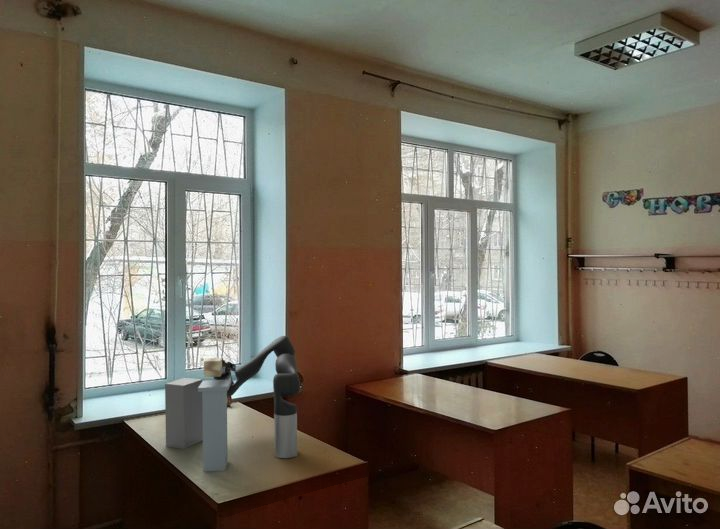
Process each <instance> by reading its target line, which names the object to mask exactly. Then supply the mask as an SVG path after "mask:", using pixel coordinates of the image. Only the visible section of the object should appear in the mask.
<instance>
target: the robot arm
mask: <svg viewBox="0 0 720 529" xmlns="http://www.w3.org/2000/svg"><path fill="white" fill-rule="evenodd" d="M272 352H273V353H274V355H275V356H276V360H275V363H274V364H275V371H276V373H275V374H274V376H273V380H272V384H273V386H272V388H273V402H274V403H273V406H274V407H273V412H274V413H273V419H274V420H273V423H274V424H273V426H274V429H273V430H274V432H273V433H274V435H273V436H274V438H273V440H274V448H273V449H274V456H275V457H276V458H279V459H291V458H294V457H298V415H297V414H298V407H297V404H295V403H293V402H289V401H287V400H285V399H283V398H284V397H295V396H298V394H299V393H300V391H301V380H300V377H299V374H298V370H297V368H298V367H297V363H296V358H295V356H296V351H295V348H294V346H293V344H292V342H291V340H290V338H289V337H288V336H287V335H281V336H279V337H277V338H276V339H274V340H273V341H272V342H271V343H269V344H268V345H267V346H265V347H264V348H263V349H261V351H260V352H258V353H257V354H256V355H255V356H254V357H253V358H252V359H250V360H249V361H247V362H246V363H245V364H243V365H241V366H240V367H238V368H237V365H236V364H234V363H232V362H230V361H227V362H226V360H224V358H223V359H222V374H221V376H220V377H212V378H213V379H214V380H231V385H230V387H229V389H228V391H227V397H230V396H231V397H232V396H233V395H234V394H235V393H236V392H237V391H238V390H239V389H240V387H241V386H242V385H244V383H246V382H247V381H249V380H250V379H251V378H252V377H254V376H256V375H257V374H258V372H260V370H261V368H262V366H263V365H264V363H265V361H266V359H267V357H268V356H269V355H270V354H271V353H272ZM232 372H234V375H235V378H236V381H235V382H234V381H233V376H232Z"/></svg>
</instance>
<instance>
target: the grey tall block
mask: <svg viewBox="0 0 720 529" xmlns="http://www.w3.org/2000/svg"><path fill="white" fill-rule="evenodd" d="M202 381H203V379H201V378H192V377H181V378H178V379H175V380H173V381H170V382H167V383H165V384H164V390H165V391H164V396H165V398H164V400H165V402H164V403H165V404H164V405H165V408H164V409H165V447H169V448H176V449H181V450H185V449H187V448H189V447H192V446H193V445H196V444H198V443H200V442H201V441H202V442H203V406H202V392H198V387H199V386H200V384H201V383H202Z"/></svg>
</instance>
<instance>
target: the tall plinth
mask: <svg viewBox="0 0 720 529" xmlns="http://www.w3.org/2000/svg"><path fill="white" fill-rule="evenodd" d="M230 385H231V380H213V379H210V380H205V379H204V380H202V383H201V384H200V386H199V387H198V392H202V406H203V440H202V460H203V461H202V463H203V464H202V466H203V467H202V471H203V472H217V471H218V472H219V471H220V472H221V471H226V468H227V464H228V461H229V459H228V453H229V452H228V406H227V391H228V389H229V387H230Z"/></svg>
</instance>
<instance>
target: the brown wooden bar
mask: <svg viewBox="0 0 720 529" xmlns="http://www.w3.org/2000/svg"><path fill="white" fill-rule="evenodd" d="M222 359H223V360H224V358H223V357H215V358H214V357H213V358H212V357H210V358H209V357H208V358H205V359H204V360H203V378H213V377H220V376H221V374H222Z"/></svg>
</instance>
